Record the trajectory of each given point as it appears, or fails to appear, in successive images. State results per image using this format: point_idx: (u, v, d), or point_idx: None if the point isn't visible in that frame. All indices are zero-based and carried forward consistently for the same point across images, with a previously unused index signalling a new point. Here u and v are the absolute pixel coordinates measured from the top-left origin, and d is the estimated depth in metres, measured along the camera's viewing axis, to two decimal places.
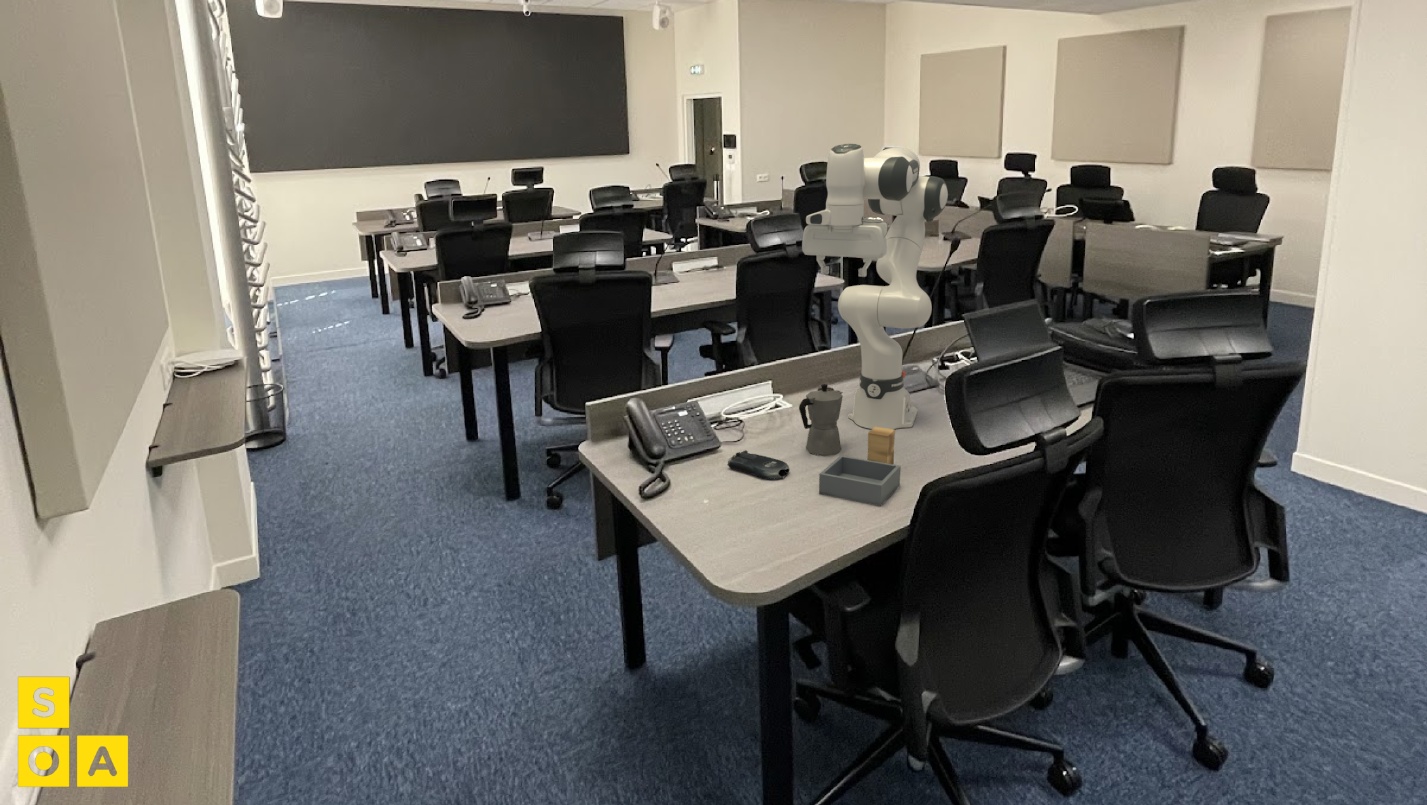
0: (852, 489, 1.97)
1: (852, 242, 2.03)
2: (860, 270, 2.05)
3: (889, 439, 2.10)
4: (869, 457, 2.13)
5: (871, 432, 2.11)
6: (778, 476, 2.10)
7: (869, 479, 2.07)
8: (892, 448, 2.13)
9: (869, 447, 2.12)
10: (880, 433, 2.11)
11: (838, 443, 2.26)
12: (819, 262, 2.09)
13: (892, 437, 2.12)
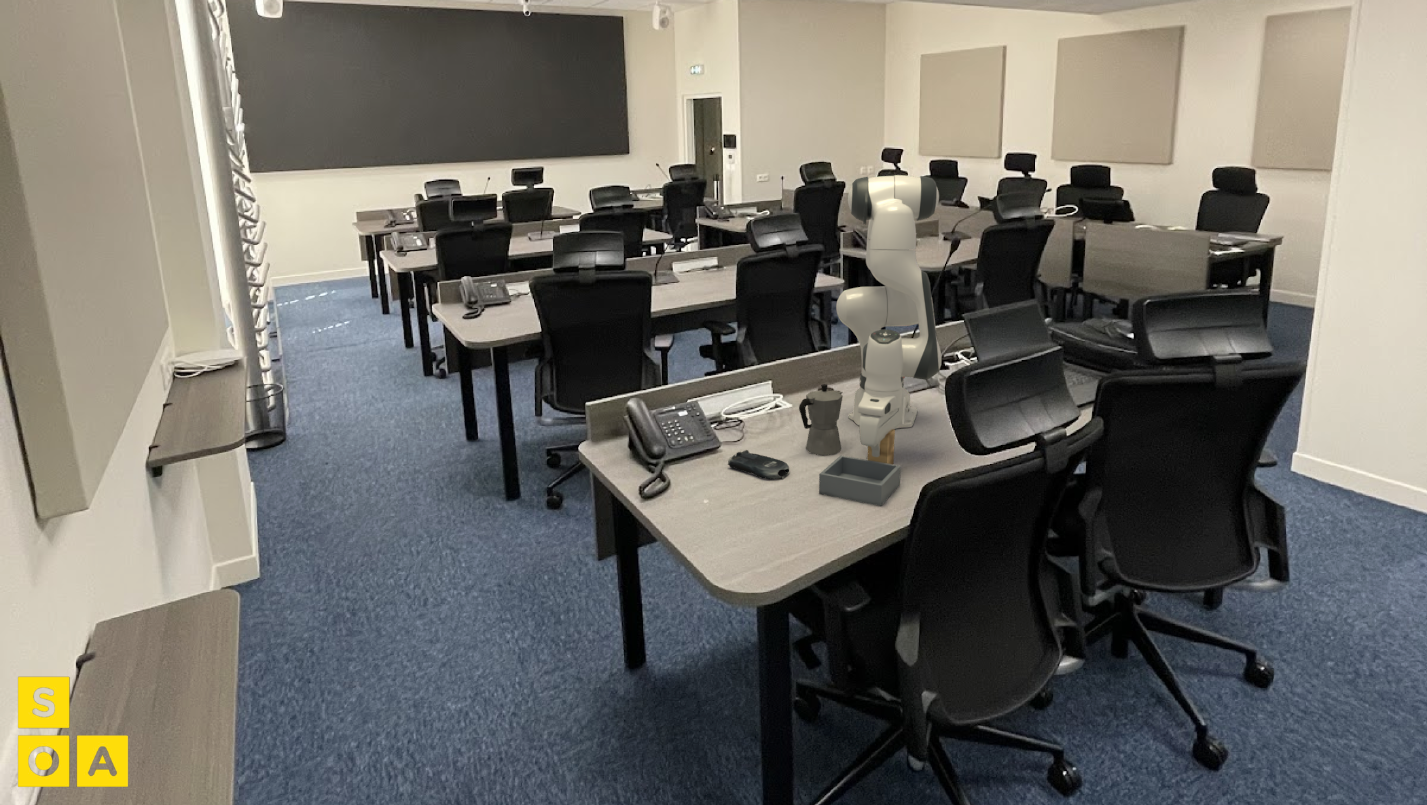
0: (852, 489, 1.97)
1: (892, 417, 2.13)
2: None
3: (889, 439, 2.10)
4: (869, 457, 2.13)
5: None
6: (777, 476, 2.10)
7: (869, 479, 2.07)
8: (892, 448, 2.13)
9: (869, 447, 2.12)
10: None
11: (838, 443, 2.26)
12: (879, 446, 2.09)
13: (892, 437, 2.12)
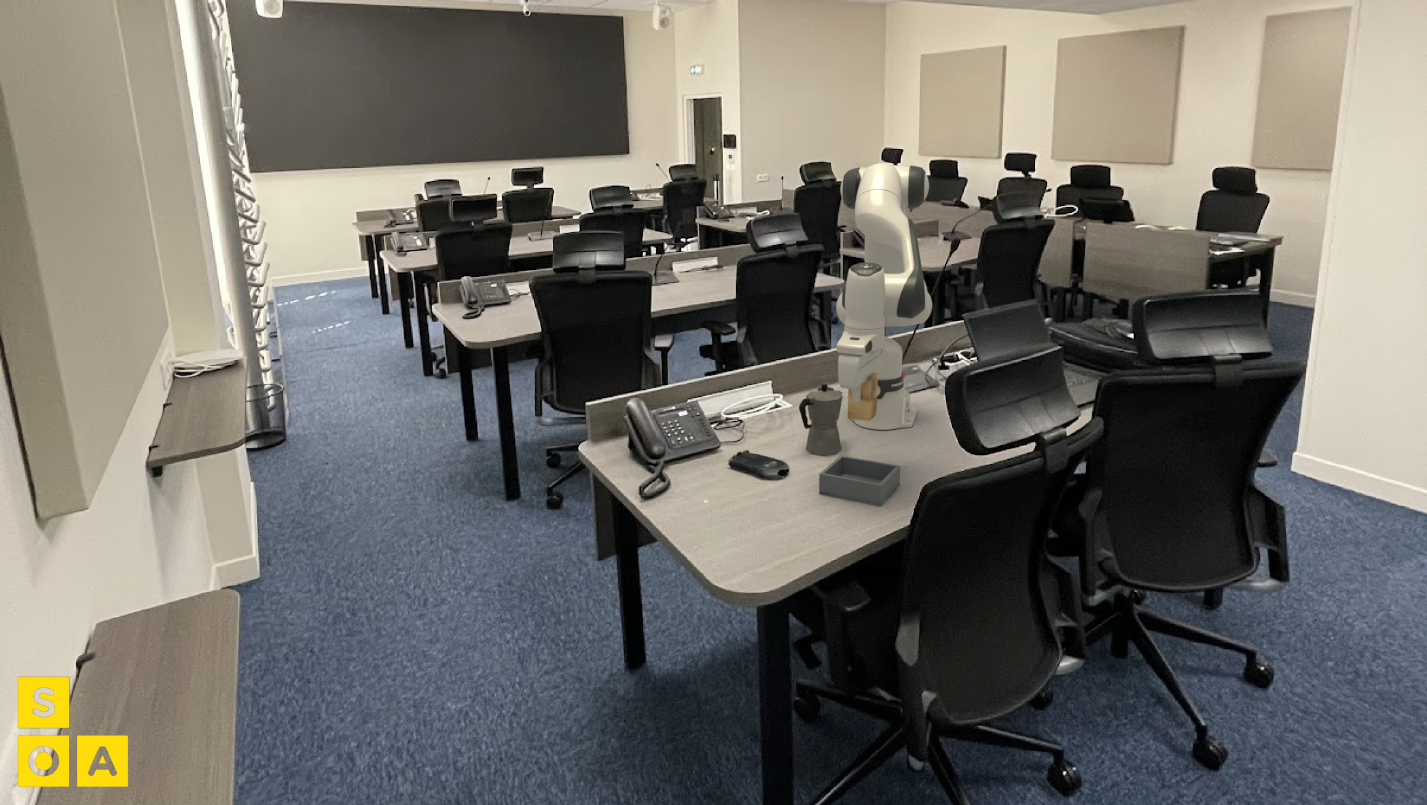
0: (852, 489, 1.97)
1: (875, 360, 1.96)
2: None
3: (871, 382, 1.93)
4: (850, 403, 1.96)
5: None
6: (777, 476, 2.10)
7: (869, 479, 2.07)
8: (875, 393, 1.96)
9: (850, 391, 1.95)
10: None
11: (838, 443, 2.26)
12: (860, 390, 1.92)
13: (874, 381, 1.95)
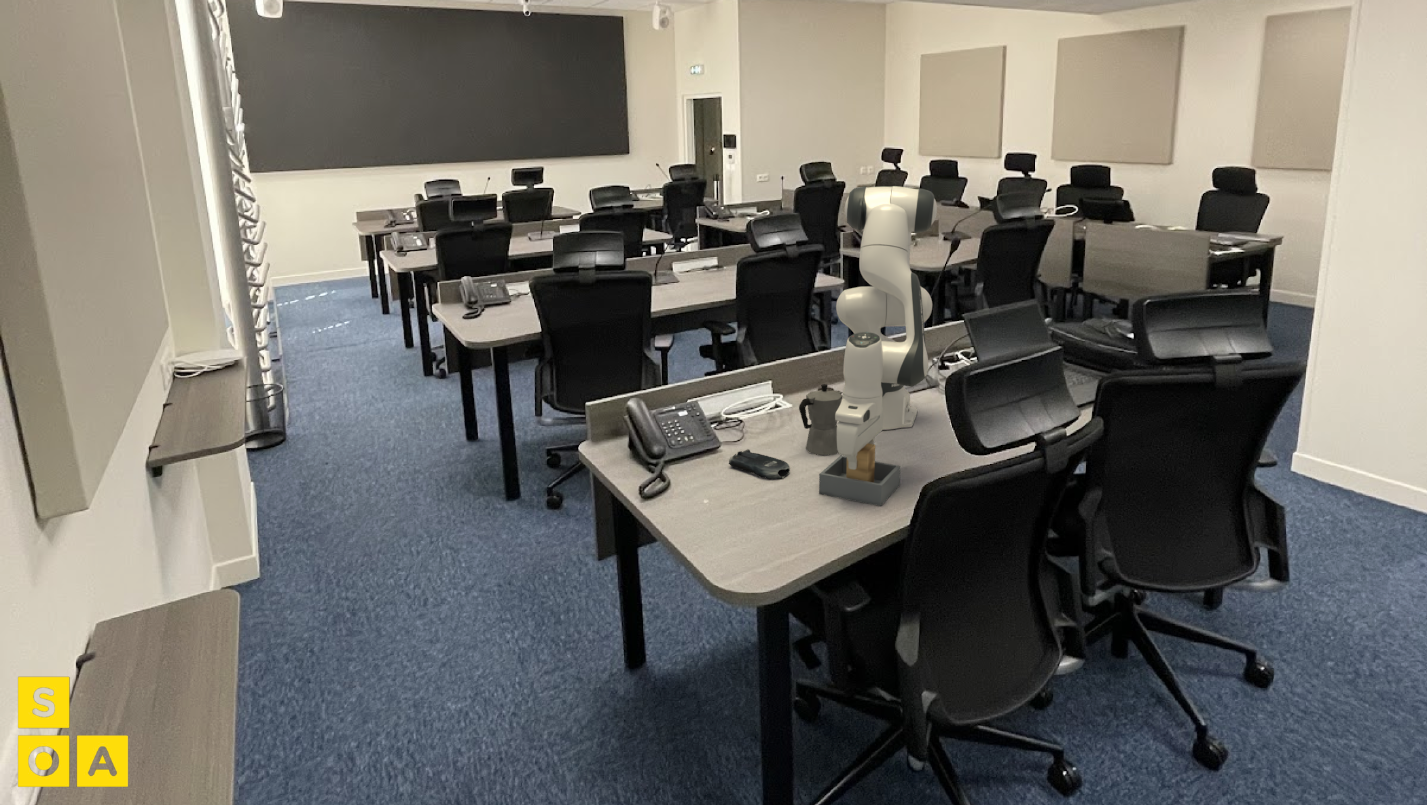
0: (852, 489, 1.97)
1: (873, 425, 2.00)
2: None
3: (869, 455, 1.99)
4: (848, 474, 2.01)
5: None
6: (777, 476, 2.10)
7: None
8: (872, 464, 2.02)
9: (848, 463, 2.00)
10: None
11: None
12: (855, 458, 1.96)
13: (872, 452, 2.00)
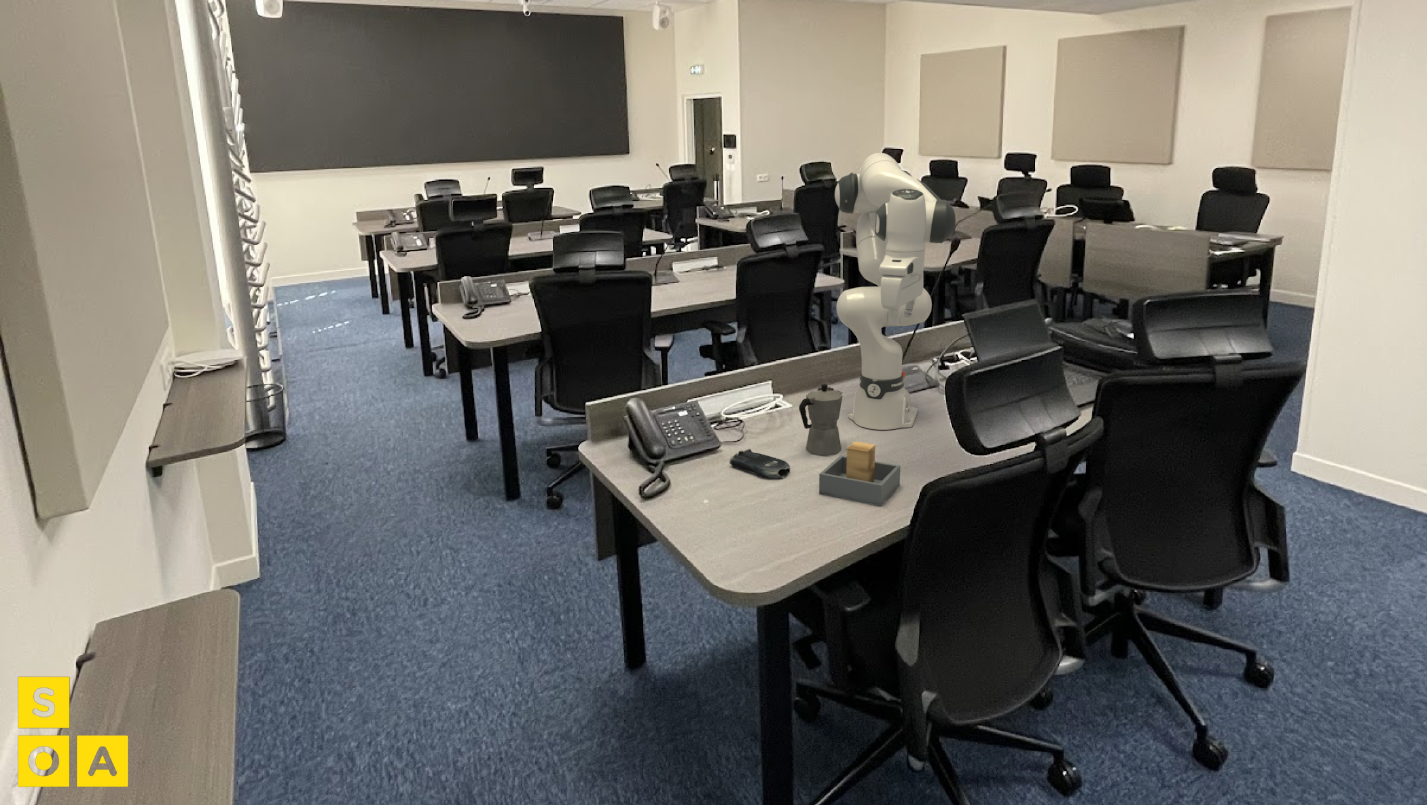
0: (852, 489, 1.97)
1: (914, 284, 2.03)
2: (912, 311, 2.07)
3: (869, 455, 1.99)
4: (848, 474, 2.01)
5: (850, 448, 1.99)
6: (777, 476, 2.10)
7: None
8: (872, 464, 2.02)
9: (848, 463, 2.00)
10: (859, 449, 1.99)
11: (838, 443, 2.26)
12: (898, 313, 1.99)
13: (872, 452, 2.00)
